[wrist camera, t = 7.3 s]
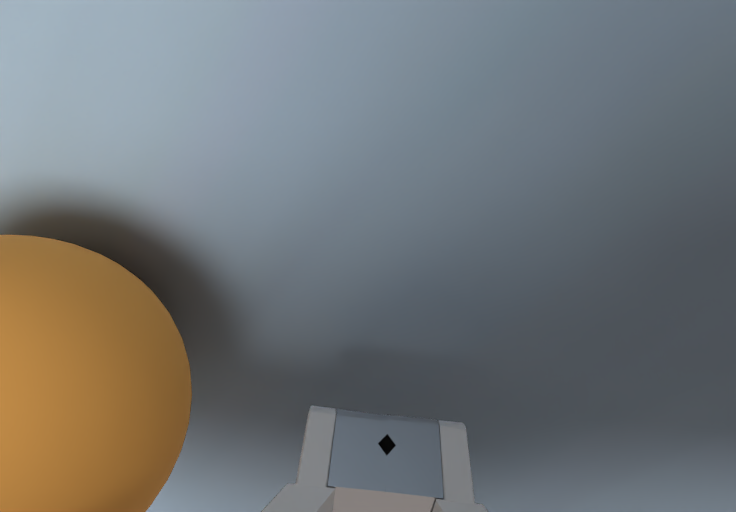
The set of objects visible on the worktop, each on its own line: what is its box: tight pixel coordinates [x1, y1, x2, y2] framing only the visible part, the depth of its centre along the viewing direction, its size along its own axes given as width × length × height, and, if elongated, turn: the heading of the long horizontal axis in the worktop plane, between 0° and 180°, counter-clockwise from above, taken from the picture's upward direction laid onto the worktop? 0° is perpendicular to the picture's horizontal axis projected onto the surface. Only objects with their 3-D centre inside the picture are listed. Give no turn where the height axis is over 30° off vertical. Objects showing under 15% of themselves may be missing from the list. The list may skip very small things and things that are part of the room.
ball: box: [0, 235, 192, 512], centre depth 9 cm, size 6×6×6 cm
